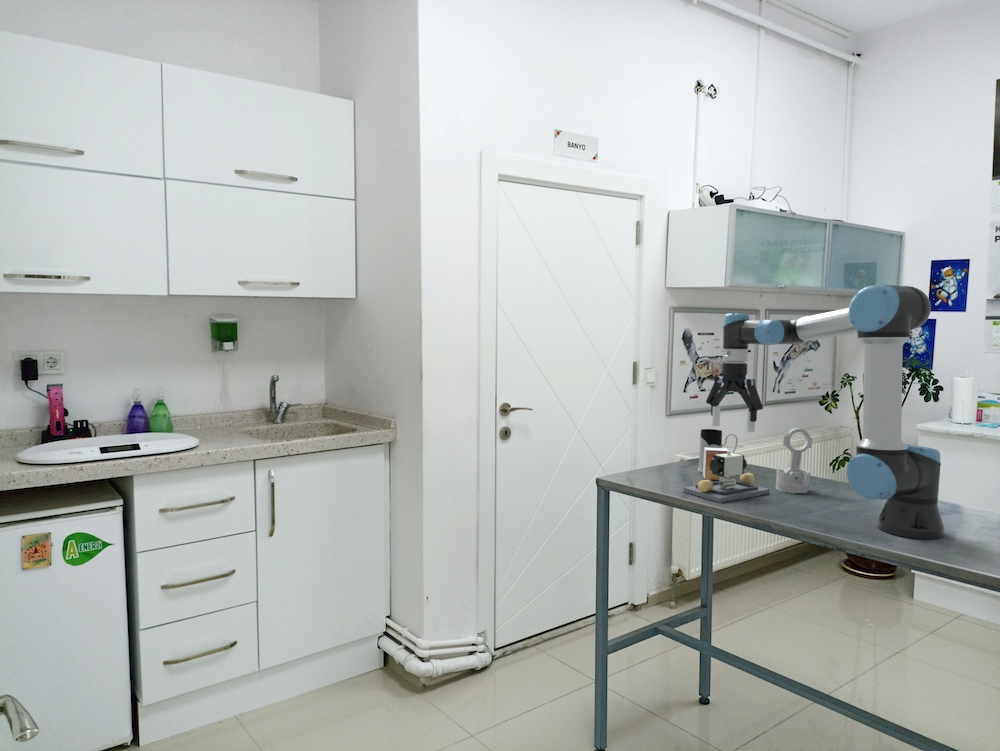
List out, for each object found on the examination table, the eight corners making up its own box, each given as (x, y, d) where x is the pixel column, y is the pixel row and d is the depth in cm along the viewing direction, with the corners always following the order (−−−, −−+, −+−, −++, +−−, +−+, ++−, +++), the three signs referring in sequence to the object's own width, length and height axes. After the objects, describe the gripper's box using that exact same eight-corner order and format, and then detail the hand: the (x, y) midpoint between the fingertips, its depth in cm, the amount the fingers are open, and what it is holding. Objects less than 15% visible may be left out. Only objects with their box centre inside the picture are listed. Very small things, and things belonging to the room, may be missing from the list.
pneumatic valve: (746, 488, 225) (747, 451, 224) (718, 492, 220) (719, 454, 219) (733, 484, 230) (735, 448, 229) (706, 488, 225) (707, 451, 224)
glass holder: (694, 468, 261) (695, 428, 260) (731, 468, 262) (732, 428, 261) (702, 473, 252) (703, 432, 251) (740, 473, 253) (742, 432, 252)
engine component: (770, 486, 235) (784, 493, 225) (773, 425, 233) (786, 430, 223) (802, 486, 235) (817, 493, 225) (805, 425, 233) (820, 430, 223)
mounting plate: (731, 483, 237) (732, 468, 237) (769, 493, 224) (770, 477, 224) (683, 492, 225) (683, 475, 225) (720, 502, 212) (720, 485, 212)
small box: (704, 479, 243) (705, 449, 242) (702, 476, 248) (703, 446, 248) (728, 480, 242) (729, 450, 241) (726, 477, 247) (727, 447, 246)
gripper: (696, 360, 229) (694, 424, 231) (760, 364, 208) (757, 435, 210) (712, 360, 233) (710, 423, 235) (776, 364, 212) (774, 433, 214)
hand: (732, 429), depth 222 cm, fingers open, 13 cm apart
